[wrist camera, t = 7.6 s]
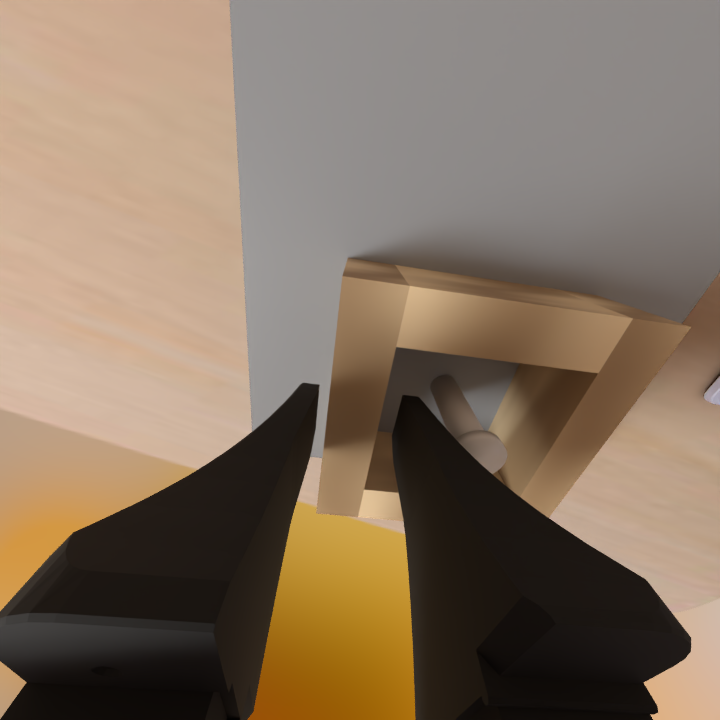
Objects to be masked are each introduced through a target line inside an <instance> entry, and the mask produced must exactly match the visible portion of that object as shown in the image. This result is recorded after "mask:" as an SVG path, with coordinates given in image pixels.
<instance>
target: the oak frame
mask: <svg viewBox="0 0 720 720" xmlns="http://www.w3.org/2000/svg"><path fill="white" fill-rule="evenodd" d="M690 329H691V327H690V326H687V325H684V324H681V323H678V322H675V321H672V320H669V319H666V318H663V317H660V316H657V315H654V314H651V313H648V312H645V311H642V310H639V309H636V308H633V307H630V306H628V305H625V304H622V303H619V302H616V301H613V300H610V299H607V298H604V297H601V296H598V295H592V294H585V293H578V292H572V291H565V290H558V289H552V288H545V287H538V286H532V285H525V284H519V283H512V282H505V281H499V280H492V279H485V278H479V277H472V276H465V275H459V274H452V273H445V272H439V271H432V270H425V269H419V268H412V267H406V266H399V265H392V264H386V263H379V262H372V261H366V260H359V259H352V258H347V262H346V265H345V269H344V272H343V276H342V284H341V293H340V302H339V311H338V320H337V329H336V339H335V348H334V357H333V366H332V375H331V384H330V393H329V402H328V411H327V421H326V430H325V439H324V448H323V457H322V466H321V475H320V484H319V493H318V503H317V512H316V513H318V514H330V515H341V516H352V517H364V518H375V519H386V520H398V521H403V515H402V509H401V504H400V498H399V493H398V487H397V481H396V476H395V470H394V464H393V452H392V433H389V432H380V431H377V430H378V425H379V421H380V417H381V412H382V408H383V403H384V399H385V394H386V390H387V385H388V381H389V377H390V372H391V368H392V363H393V359H394V354H395V350H396V347H400V348H408V349H416V350H423V351H431V352H439V353H446V354H454V355H462V356H469V357H477V358H485V359H492V360H500V361H508V362H515V363H520V364H519V366H518V368H517V370H516V373H515V375H514V377H513V379H512V381H511V383H510V385H509V387H508V390H507V392H506V394H505V396H504V398H503V400H502V402H501V404H500V407H499V409H498V411H497V413H496V415H495V417H494V419H493V421H492V424H491V426H490V428H489V430H488V431H489V432H492V433H494V434H495V435H497V436H498V437H499V439H500V440H501V442H502V443H503V445H504V447H505V448H506V450H507V460H506V462H505V464H504V465H503V466H502V467H501V468H500V469H499V470H498V471H497V472H495V473H493V475H494V476H495V477H496V478H497V479H498V480H500V481H501V482H502V483H503V484H504V485H506V486H507V487H508V488H509V489H511V490H512V491H513V492H514V493H516V494H517V495H518V496H520V497H521V498H522V499H523V500H525V501H526V502H527V503H529V504H530V505H531V506H533V507H534V508H535V509H537V510H538V511H539V512H541V513H542V514H544V515H545V516H546V517H548V518H549V517H550V515H551V514H552V513H553V511H554V510H555V509H556V507H557V506H558V505H559V503H560V502H561V501H562V499H563V498H564V497H565V495H566V494H567V493H568V491H569V490H570V489H571V487H572V486H573V485H574V483H575V482H576V481H577V479H578V478H579V477H580V475H581V474H582V473H583V471H584V470H585V469H586V467H587V466H588V465H589V463H590V462H591V461H592V459H593V458H594V457H595V455H596V454H597V453H598V451H599V450H600V449H601V447H602V446H603V445H604V443H605V442H606V441H607V439H608V438H609V437H610V435H611V434H612V433H613V431H614V430H615V429H616V427H617V426H618V425H619V423H620V422H621V421H622V419H623V418H624V417H625V415H626V414H627V413H628V411H629V410H630V409H631V407H632V406H633V405H634V403H635V402H636V401H637V399H638V398H639V397H640V395H641V394H642V393H643V391H644V390H645V389H646V387H647V386H648V385H649V383H650V382H651V381H652V379H653V378H654V377H655V375H656V374H657V373H658V371H659V370H660V369H661V367H662V366H663V365H664V363H665V362H666V361H667V359H668V358H669V357H670V355H671V354H672V353H673V351H674V350H675V349H676V347H677V346H678V345H679V343H680V342H681V341H682V339H683V338H684V337H685V335H686V334H687V333H688V331H689V330H690Z"/></svg>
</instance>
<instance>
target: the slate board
mask: <svg viewBox="0 0 720 720" xmlns="http://www.w3.org/2000/svg"><path fill="white" fill-rule="evenodd" d="M230 18H231V37H232V56H233V75H234V94H235V113H236V132H237V151H238V170H239V189H240V208H241V227H242V246H243V265H244V284H245V303H246V322H247V341H248V360H249V380H250V399H251V418H252V431H254V430H255V429H256V428H257V427H258V426H259V425H261V424H262V423H263V422H264V421H265V420H266V419H267V418H269V417H270V416H271V415H272V414H273V413H274V412H275V411H276V410H277V409H278V408H279V407H280V406H281V405H282V404H283V403H284V402H285V401H286V400H287V399H288V398H289V397H290V396H291V395H292V393H293V392H294V391H295V390H296V389H297V388H298V386H299V385H300V384H302V383H310V384H319V385H320V387H319V398H318V409H317V421H316V430H315V435H314V441H313V446H312V451H311V455H310V457H319V458H322V457H323V448H324V439H325V430H326V421H327V411H328V402H329V393H330V384H331V375H332V366H333V357H334V348H335V339H336V329H337V320H338V311H339V302H340V293H341V284H342V276H343V272H344V269H345V265H346V262H347V258H352V259H359V260H366V261H372V262H379V263H386V264H392V265H399V266H406V267H412V268H419V269H425V270H432V271H439V272H445V273H452V274H459V275H465V276H472V277H479V278H485V279H492V280H499V281H505V282H512V283H519V284H525V285H532V286H538V287H545V288H552V289H558V290H565V291H572V292H578V293H585V294H592V295H598V296H601V297H604V298H607V299H610V300H613V301H616V302H619V303H622V304H625V305H628V306H630V307H633V308H636V309H639V310H642V311H645V312H648V313H651V314H654V315H657V316H660V317H663V318H666V319H669V320H672V321H675V322H678V323H681V324H682V323H683V322H684V320H685V319H686V318H687V316H688V315H689V313H690V312H691V311H692V309H693V308H694V307H695V305H696V304H697V302H698V301H699V300H700V298H701V297H702V296H703V294H704V293H705V291H706V290H707V289H708V287H709V286H710V285H711V283H712V282H713V280H714V279H715V278H716V276H717V275H718V274H719V272H720V0H230ZM519 364H520V363H515V362H508V361H500V360H492V359H485V358H477V357H469V356H462V355H454V354H446V353H439V352H431V351H423V350H416V349H408V348H400V347H396V350H395V354H394V359H393V363H392V368H391V372H390V377H389V381H388V385H387V390H386V394H385V399H384V403H383V408H382V412H381V417H380V421H379V425H378V430H377V431H380V432H389V433H393V430H394V426H395V422H396V418H397V414H398V410H399V406H400V403H401V399H402V395H409V396H417V397H419V398H420V399H421V400H422V401H423V402H424V403H425V404H426V406H427V407H428V408H429V409H430V410H431V412H432V413H433V414H434V415H435V416H436V417H437V419H438V420H439V421H440V422H441V423H442V424H443V426H444V427H445V428H446V429H447V430H448V431H449V432H450V433H451V435H452V436H453V437H454V438H455V439H456V440H457V441H458V442H459V443H460V444H461V445H462V446H463V447H464V448H465V449H466V450H467V451H468V452H469V453H470V454H471V455H472V456H473V457H474V458H475V459H476V460H477V461H478V462H479V463H480V464H481V465H482V466H484V467H485V468H486V469H487V470H488V471H489V472H490V473H492V474H493V473H495V472H497V471H498V470H499V469H500V468H501V467H502V466H503V465H504V464H505V462H506V460H507V450H506V448H505V447H504V445H503V443H502V442H501V440H500V439H499V437H498V436H497V435H495V434H494V433H492V432H489V431H488V430H489V428H490V426H491V424H492V421H493V419H494V417H495V415H496V413H497V411H498V409H499V407H500V404H501V402H502V400H503V398H504V396H505V394H506V392H507V390H508V387H509V385H510V383H511V381H512V379H513V377H514V375H515V373H516V370H517V368H518V366H519Z"/></svg>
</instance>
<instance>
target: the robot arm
mask: <svg viewBox="0 0 720 720" xmlns="http://www.w3.org/2000/svg"><path fill="white" fill-rule="evenodd" d="M319 387H320V385H319V384H310V383H302V384H300V385H299V386H298V388H297V389H296V390H295V391H294V392H293V393H292V395H291V396H290V397H289V398H288V399H287V400H286V401H285V402H284V403H283V404H282V405H281V406H280V407H279V408H278V409H277V410H276V411H275V412H274V413H273V414H272V415H271V416H270V417H269V418H267V419H266V420H265V421H264V422H263V423H262V424H261V425H259V426H258V427H257V428H256V429H255V430H254V431H252V432H251V433H250V434H249V435H248V436H246V437H245V438H244V439H242V440H241V441H240V442H238V443H237V444H236V445H234V446H233V447H232V448H230V449H229V450H227V451H226V452H225V453H223V454H222V455H220V456H219V457H217V458H216V459H214V460H213V461H211V462H210V463H208V464H206V465H205V466H203V467H202V468H200V469H198V470H197V471H195V472H194V473H192V474H190V475H189V476H187V477H185V478H183V479H182V480H180V481H178V482H176V483H174V484H172V485H171V486H169V487H167V488H165V489H163V490H161V491H159V492H158V493H156V494H154V495H152V496H150V497H148V498H146V499H144V500H142V501H140V502H138V503H136V504H134V505H132V506H130V507H128V508H125V509H123V510H121V511H119V512H117V513H115V514H113V515H110V516H109V517H106V518H104V519H102V520H100V521H98V522H96V523H93V524H91V525H89V526H87V527H85V528H82V529H80V530H78V531H76V532H73V534H72V535H70V536H69V538H68V539H67V540H66V541H65V542H64V543H63V544H62V545H61V546H60V547H59V548H58V549H57V550H56V551H55V552H54V553H53V554H52V555H51V556H50V557H49V558H48V559H47V560H46V561H45V562H44V563H43V564H42V566H41V567H40V568H39V569H38V570H37V571H36V572H35V573H34V575H33V576H32V577H31V578H30V579H29V580H28V581H27V582H26V583H25V585H24V586H23V587H22V588H21V589H20V590H19V591H18V592H17V593H16V595H15V596H14V597H13V598H12V599H11V600H10V601H9V602H8V604H7V605H6V606H5V607H4V608H3V609H2V610H1V611H0V661H1V662H2V663H3V664H5V665H6V666H7V667H9V668H10V669H11V670H12V671H13V672H15V673H16V674H17V675H18V676H20V677H21V678H22V679H23V680H25V681H26V682H27V683H26V684H25V686H24V687H23V688H22V690H21V691H20V693H19V694H18V695H17V697H16V698H15V699H14V701H13V702H12V704H11V705H10V707H9V708H8V709H7V711H6V712H5V714H4V715H3V716H2V718H1V719H0V720H247V719H248V718H249V717H250V715H251V714H252V713H253V711H254V705H255V700H256V695H257V689H258V684H259V678H260V673H261V668H262V663H263V658H264V653H265V647H266V642H267V637H268V632H269V627H270V622H271V617H272V612H273V606H274V601H275V596H276V591H277V586H278V581H279V576H280V571H281V567H282V562H283V556H284V552H285V547H286V542H287V537H288V533H289V528H290V524H291V519H292V516H293V512H294V508H295V505H296V502H297V499H298V495H299V492H300V489H301V485H302V482H303V479H304V475H305V472H306V469H307V465H308V462H309V459H310V455H311V451H312V446H313V441H314V435H315V430H316V421H317V409H318V398H319ZM704 399H705V400H706V401H708V402H710V403H712V404H716V405H720V376H719V377H718V378H717V380H716V381H715V382H714V383H713V384H712V385H711V386H710V388H709V389H708V390H707V391H706V392H705V394H704ZM392 452H393V464H394V470H395V476H396V481H397V487H398V493H399V498H400V504H401V509H402V515H403V521H404V528H405V535H406V547H407V557H408V558H407V559H408V571H409V585H410V600H411V618H412V636H413V656H414V657H413V658H414V684H415V716H416V720H653V719H652V717H651V715H650V714H656V713H658V708H657V705H656V703H655V701H654V700H653V698H652V696H651V695H650V693H649V692H648V690H647V688H646V686H645V685H644V683H643V682H645V681H647V680H649V679H651V678H653V677H654V676H656V675H658V674H660V673H662V672H664V671H665V670H667V669H669V668H671V667H673V666H674V665H676V664H678V663H679V662H680V661H682V660H684V659H685V658H686V657H687V655H688V654H689V653H690V652H691V637H690V636H689V634H688V633H687V632H686V631H685V629H684V628H683V627H682V625H681V624H680V623H679V622H678V620H677V619H676V618H675V617H674V615H673V614H672V613H671V611H670V610H669V609H668V607H667V606H666V605H665V603H664V602H663V601H662V600H661V598H660V597H659V596H658V594H657V593H656V592H655V591H654V589H653V588H652V587H651V585H650V584H649V583H648V582H647V581H646V579H644V578H642V577H641V576H639V575H637V574H636V573H634V572H632V571H631V570H629V569H627V568H626V567H624V566H623V565H621V564H619V563H618V562H616V561H614V560H613V559H611V558H609V557H608V556H606V555H604V554H603V553H601V552H599V551H598V550H596V549H595V548H593V547H591V546H590V545H588V544H586V543H585V542H583V541H582V540H580V539H579V538H577V537H576V536H574V535H573V534H571V533H570V532H568V531H567V530H565V529H564V528H562V527H561V526H559V525H558V524H556V523H555V522H554V521H552V520H551V519H549V518H548V517H546V516H545V515H544V514H542V513H541V512H539V511H538V510H537V509H535V508H534V507H533V506H531V505H530V504H529V503H527V502H526V501H525V500H523V499H522V498H521V497H520V496H518V495H517V494H516V493H514V492H513V491H512V490H511V489H509V488H508V487H507V486H506V485H504V484H503V483H502V482H501V481H500V480H498V479H497V478H496V477H495V476H494V475H493V474H492V473H490V472H489V471H488V470H487V469H486V468H485V467H484V466H482V465H481V464H480V463H479V462H478V461H477V460H476V459H475V458H474V457H473V456H472V455H471V454H470V453H469V452H468V451H467V450H466V449H465V448H464V447H463V446H462V445H461V444H460V443H459V442H458V441H457V440H456V439H455V438H454V437H453V436H452V435H451V433H450V432H449V431H448V430H447V429H446V428H445V427H444V426H443V424H442V423H441V422H440V421H439V420H438V419H437V417H436V416H435V415H434V414H433V413H432V412H431V410H430V409H429V408H428V407H427V406H426V404H425V403H424V402H423V401H422V400H421V399H420V398H419V397H417V396H409V395H402V399H401V403H400V406H399V410H398V414H397V418H396V422H395V426H394V430H393V433H392Z"/></svg>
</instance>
